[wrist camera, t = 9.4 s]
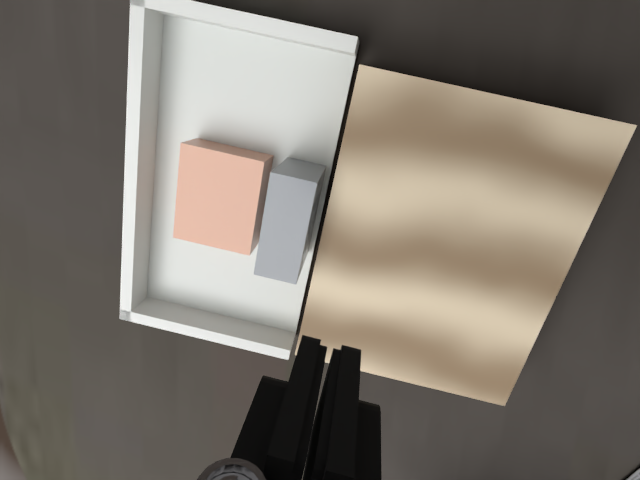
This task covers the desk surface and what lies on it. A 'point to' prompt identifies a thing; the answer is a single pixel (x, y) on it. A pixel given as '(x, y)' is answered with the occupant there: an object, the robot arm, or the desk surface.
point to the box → (227, 128)
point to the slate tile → (288, 219)
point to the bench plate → (453, 229)
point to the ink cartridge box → (635, 475)
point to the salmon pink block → (221, 195)
